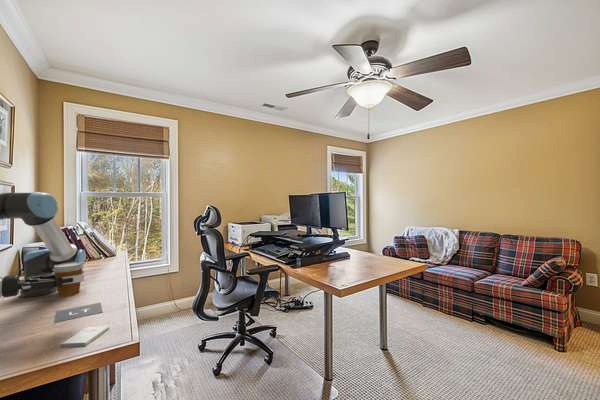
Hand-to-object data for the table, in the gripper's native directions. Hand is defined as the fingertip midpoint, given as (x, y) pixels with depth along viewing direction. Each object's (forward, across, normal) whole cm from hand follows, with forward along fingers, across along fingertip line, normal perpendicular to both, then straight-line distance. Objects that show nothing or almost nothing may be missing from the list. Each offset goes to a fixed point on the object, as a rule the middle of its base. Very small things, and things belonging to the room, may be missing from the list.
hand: (83, 275), depth 112 cm
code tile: (-2, -14, -18) cm, 23 cm away
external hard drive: (0, +18, -19) cm, 26 cm away
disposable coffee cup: (-5, 0, -7) cm, 8 cm away
